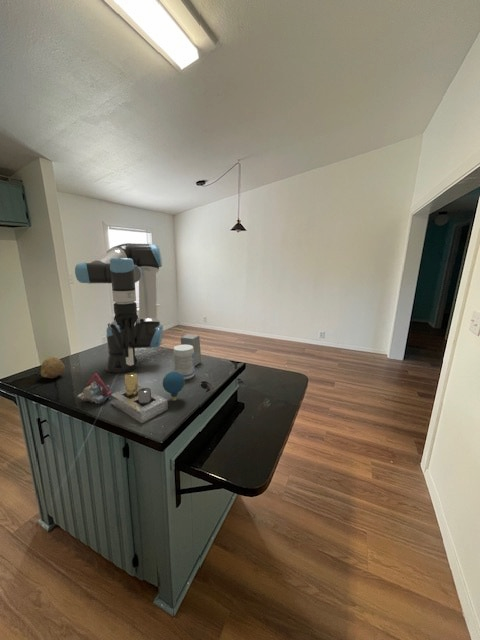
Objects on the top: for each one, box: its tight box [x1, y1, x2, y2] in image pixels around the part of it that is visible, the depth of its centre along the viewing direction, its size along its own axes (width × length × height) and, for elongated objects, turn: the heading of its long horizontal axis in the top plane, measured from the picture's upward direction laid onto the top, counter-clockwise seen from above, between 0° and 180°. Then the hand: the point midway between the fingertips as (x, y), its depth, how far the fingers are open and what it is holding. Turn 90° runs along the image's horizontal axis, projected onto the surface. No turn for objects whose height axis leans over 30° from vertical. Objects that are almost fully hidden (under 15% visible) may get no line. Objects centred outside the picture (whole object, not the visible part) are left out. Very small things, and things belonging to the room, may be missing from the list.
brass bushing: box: [124, 371, 139, 399], centre depth 98 cm, size 4×4×12 cm
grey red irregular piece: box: [76, 373, 113, 405], centre depth 100 cm, size 11×11×12 cm
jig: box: [110, 384, 169, 424], centre depth 96 cm, size 20×11×8 cm, turn 54°
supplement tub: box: [173, 344, 195, 380], centre depth 122 cm, size 10×10×15 cm
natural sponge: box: [40, 356, 66, 379], centre depth 118 cm, size 9×9×10 cm
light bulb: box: [162, 371, 186, 401], centre depth 100 cm, size 8×8×12 cm
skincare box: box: [180, 333, 202, 367], centre depth 137 cm, size 8×7×16 cm
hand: (130, 364), depth 95 cm, fingers closed
